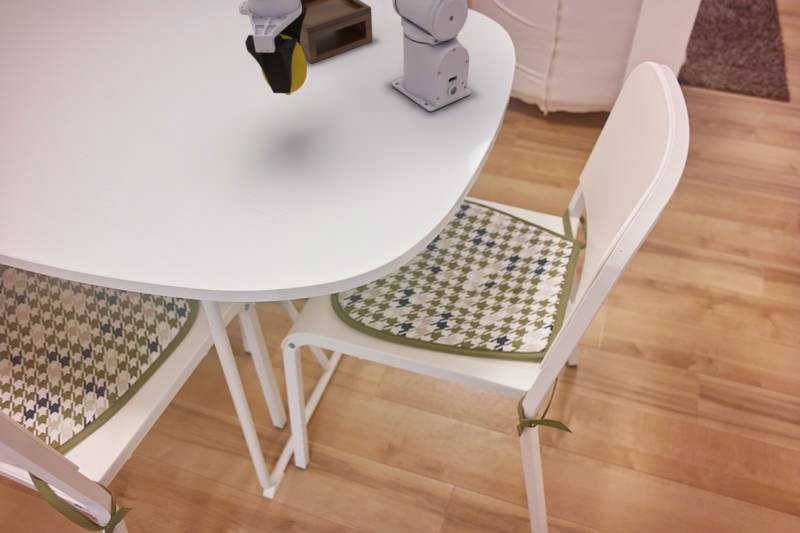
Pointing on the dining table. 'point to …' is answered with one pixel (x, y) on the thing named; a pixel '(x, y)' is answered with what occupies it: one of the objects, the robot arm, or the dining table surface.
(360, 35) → the walnut box
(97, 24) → the dining table surface
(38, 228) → the dining table surface
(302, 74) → the lemon
